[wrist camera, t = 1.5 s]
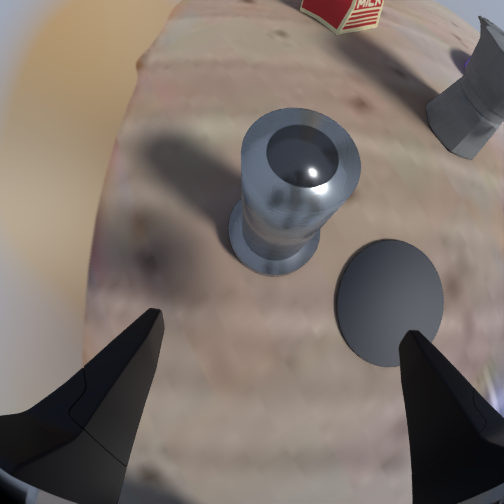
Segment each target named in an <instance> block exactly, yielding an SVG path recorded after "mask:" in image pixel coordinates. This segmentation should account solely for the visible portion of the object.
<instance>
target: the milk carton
mask: <svg viewBox="0 0 504 504" xmlns="http://www.w3.org/2000/svg"><path fill="white" fill-rule="evenodd" d="M383 3H384V0H302V4H301V8H300V11H301V12H303V13H305V14H307V15H309V16H311V17H313V18H315V19H317V20H318V21H320V22H321V23H322V24H324V25H325V26H326V27H328V28H329V29H330V30H331V31H333V32H334V33H335V34H336V35H341V34H346V33H351V32H356V31H361V30H365V29H370V28H375V27H377V25H378V22H379V18H380V14H381V11H382V7H383Z"/></svg>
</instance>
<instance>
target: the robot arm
mask: <svg viewBox="0 0 504 504" xmlns="http://www.w3.org/2000/svg"><path fill="white" fill-rule="evenodd" d="M163 334H164V320H163V314H162V311H161V310H160V309H155V308H149V309H148V310H147V311H146V312H145V313H143V314H142V315H141V316H140V317H139V318H138V319H136V320H135V321H134V322H133V323H132V324H131V325H130V326H129V327H127V328H126V329H125V330H124V331H123V332H122V333H121V334H119V335H118V336H117V337H116V338H115V339H114V340H113V341H112V342H110V343H109V344H108V345H107V346H106V347H105V348H104V349H103V350H102V351H100V352H99V353H98V354H97V355H96V356H95V357H94V358H93V359H92V360H90V361H89V362H88V363H87V364H86V365H85V366H84V368H81V369H80V370H79V371H78V372H77V373H76V374H75V375H74V376H73V377H71V378H70V379H69V380H68V381H67V382H66V383H64V384H63V385H62V386H60V387H59V388H58V389H56V390H55V391H54V392H52V393H51V394H50V395H48V396H47V397H46V398H44V399H43V400H41V401H40V402H39V403H37V404H36V405H35V406H33V407H32V408H30V409H28V410H26V411H24V412H22V413H18V414H11V415H3V416H0V504H118V501H119V497H120V492H121V488H122V484H123V480H124V477H125V473H126V469H127V465H128V461H129V457H130V454H131V450H132V447H133V443H134V440H135V436H136V433H137V429H138V426H139V422H140V419H141V416H142V412H143V409H144V406H145V403H146V400H147V396H148V393H149V390H150V387H151V384H152V381H153V378H154V374H155V371H156V367H157V363H158V358H159V353H160V348H161V343H162V338H163ZM399 359H400V371H401V383H402V390H403V396H404V403H405V410H406V417H407V425H408V434H409V443H410V455H411V469H412V495H413V504H504V418H503V417H502V416H501V415H500V414H499V413H498V412H497V411H496V410H495V409H494V408H493V407H492V406H491V405H490V404H489V403H488V402H487V401H486V400H485V399H484V398H483V397H482V396H481V395H480V394H479V393H478V392H477V390H476V389H475V388H474V387H473V386H472V385H471V384H470V383H469V382H468V381H467V380H466V379H465V377H464V376H463V375H462V374H461V373H460V372H459V371H458V370H457V369H456V368H455V367H454V366H453V365H452V364H451V363H450V362H449V361H448V360H447V358H446V357H445V356H444V355H443V354H442V353H441V352H440V351H439V350H438V349H437V348H436V347H435V346H434V345H433V344H432V343H431V342H430V341H429V340H428V339H427V338H426V337H425V336H424V335H423V334H422V333H421V332H420V331H419V330H408V331H407V333H406V334H405V336H404V337H403V339H402V340H401V342H400V344H399Z"/></svg>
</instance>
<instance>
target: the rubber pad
mask: <svg viewBox="0 0 504 504" xmlns="http://www.w3.org/2000/svg"><path fill="white" fill-rule="evenodd" d="M443 305H444V299H443V289H442V284H441V281H440V278H439V275H438V273H437V271H436V269H435V267H434V265H433V264H432V262H431V261H430V259H429V258H428V257H427V256H426V255H425V254H424V253H423V252H422V251H420V250H419V249H418V248H416V247H415V246H413V245H411V244H408V243H406V242H402V241H396V240H387V241H381V242H378V243H375V244H373V245H371V246H369V247H367V248H366V249H364V250H363V251H361V252H360V253H359V254H358V255H357V256H356V257H355V258H354V259H353V260H352V262H351V263H350V264H349V266H348V268H347V269H346V271H345V273H344V275H343V277H342V280H341V283H340V286H339V291H338V296H337V315H338V321H339V325H340V328H341V332H342V334H343V336H344V338H345V340H346V342H347V343H348V345H349V346H350V348H351V349H352V350H353V351H354V352H355V353H356V354H357V355H358V356H359V357H360V358H362V359H363V360H365V361H367V362H369V363H371V364H374V365H377V366H381V367H396V366H400V359H399V344H400V342H401V340H402V339H403V337H404V336H405V334H406V333H407V331H408V330H419V331H420V332H421V333H422V334H423V335H424V336H425V337H426V338H427V339H428V340H429V341H430V342H432V341H433V339H434V338H435V336H436V334H437V332H438V329H439V326H440V323H441V319H442V315H443Z"/></svg>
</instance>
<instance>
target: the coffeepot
mask: <svg viewBox="0 0 504 504" xmlns="http://www.w3.org/2000/svg"><path fill="white" fill-rule="evenodd" d="M478 18H479V20H480V23H481V35H480V39H479V42H478V44H477V46H476V48H475V50H474V52H473V54H472V56H471V58H470V60H469V62H468V64H467V65H466V67H465V71H466V73H465V74H464V75H463V76H462V78H460V79H459V80H457V81H456V82H455V83H454V84H452V85H451V86H450V87H449V88H447V89H446V90H445V91H444V92H442V93H441V94H440V95H438V96H437V97H436V98H435V99H433V100H432V101H431V102H429V103H428V104H427V105H426V113H427V119H428V122H429V124H430V126H431V129H432V130H433V132H434V133H435V135H436V136H437V138H438V139H439V140H440V142H441V143H442V144H443V145H444V146H445V147H446V148H447V149H449V150H450V151H451V152H452V153H454V154H455V155H457V156H459V157H462V158H468V159H470V160H472V159H473V158H474V157H475V156H476V154H477V153H478V152H479V151H480V150H481V148H482V147H483V146H484V145H485V144H486V142H487V141H488V140H489V139H490V138H491V136H492V135H493V134H494V133H495V131H496V130H497V129H498V128H499V126H500V125H501V123H502V122H503V121H504V32H503V31H502V30H501V29H500V28H498V27H497V26H496V25H494V24H493V23H491V22H490V21H489V20H488V19H486V18H482V17H481V16H479V17H478Z"/></svg>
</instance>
